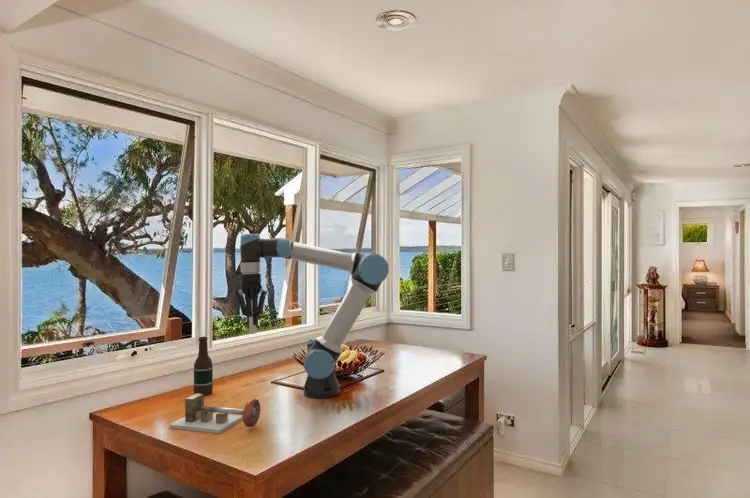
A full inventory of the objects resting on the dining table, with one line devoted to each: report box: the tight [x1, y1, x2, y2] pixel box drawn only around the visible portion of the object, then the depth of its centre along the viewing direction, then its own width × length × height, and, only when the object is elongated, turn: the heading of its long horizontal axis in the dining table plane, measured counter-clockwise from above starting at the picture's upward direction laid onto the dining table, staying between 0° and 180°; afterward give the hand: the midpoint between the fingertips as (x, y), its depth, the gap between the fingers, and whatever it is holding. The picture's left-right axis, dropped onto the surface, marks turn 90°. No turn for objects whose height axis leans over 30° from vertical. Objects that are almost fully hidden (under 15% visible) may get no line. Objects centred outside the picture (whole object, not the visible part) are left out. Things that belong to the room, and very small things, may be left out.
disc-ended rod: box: [203, 398, 261, 428], centre depth 168 cm, size 20×9×9 cm, turn 74°
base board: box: [168, 412, 243, 434], centre depth 171 cm, size 20×14×1 cm
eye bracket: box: [184, 393, 229, 424], centre depth 171 cm, size 14×6×8 cm, turn 74°
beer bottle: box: [193, 336, 214, 397], centre depth 207 cm, size 8×8×24 cm
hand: (252, 333), depth 191 cm, fingers closed
